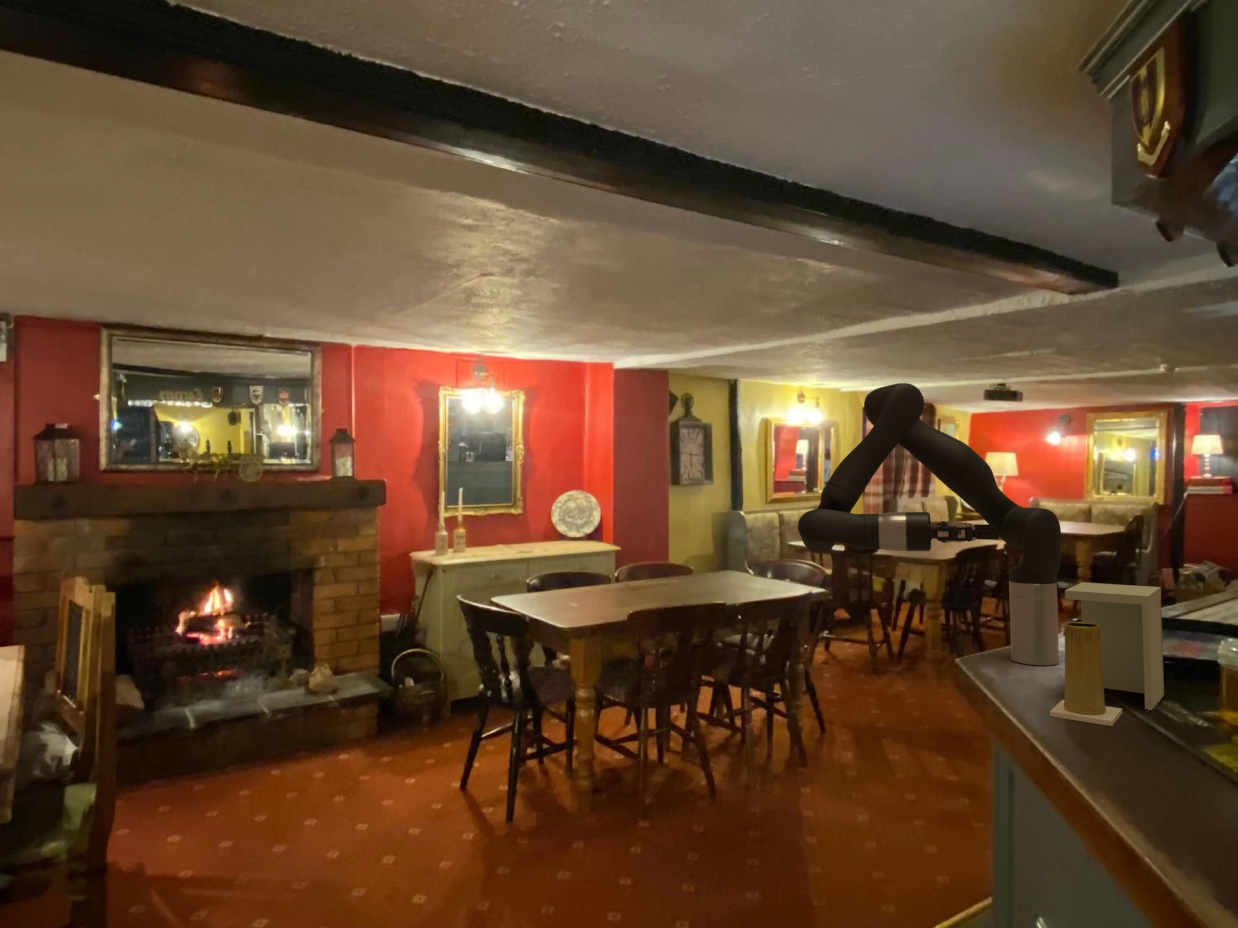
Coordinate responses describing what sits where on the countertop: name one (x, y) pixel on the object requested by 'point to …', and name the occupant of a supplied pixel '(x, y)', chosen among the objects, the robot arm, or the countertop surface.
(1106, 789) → the countertop surface
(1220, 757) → the countertop surface
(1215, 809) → the countertop surface
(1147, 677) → the shelf nook
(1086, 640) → the vase
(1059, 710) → the tile
